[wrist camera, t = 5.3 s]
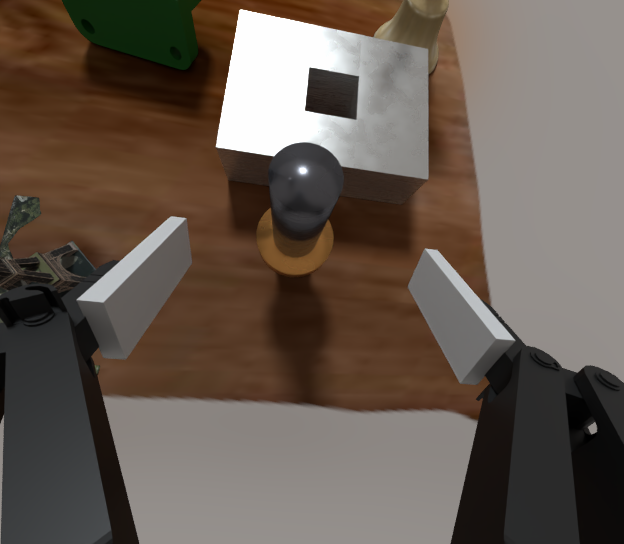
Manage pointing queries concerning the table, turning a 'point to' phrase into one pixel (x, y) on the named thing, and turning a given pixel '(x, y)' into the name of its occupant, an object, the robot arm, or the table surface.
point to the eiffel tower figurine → (39, 257)
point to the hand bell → (417, 26)
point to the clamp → (140, 27)
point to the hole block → (326, 105)
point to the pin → (299, 209)
